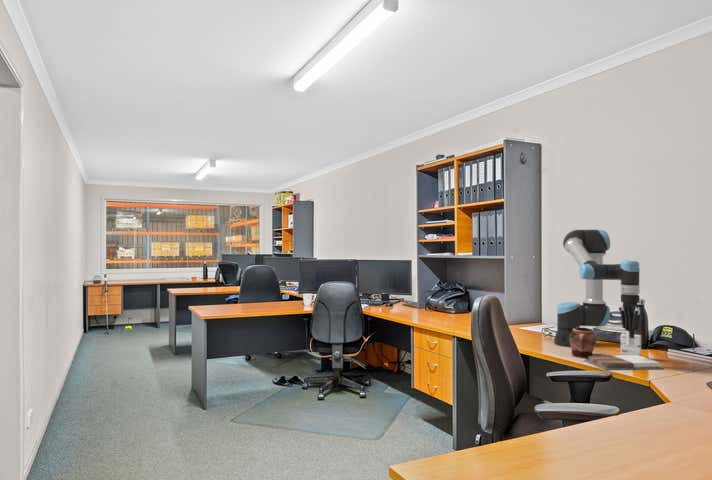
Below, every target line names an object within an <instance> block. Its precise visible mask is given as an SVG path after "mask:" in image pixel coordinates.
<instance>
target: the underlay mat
mask: <svg viewBox="0 0 712 480" xmlns="http://www.w3.org/2000/svg"><path fill="white" fill-rule="evenodd" d="M583 361H584V362H586V363H587V362H588V364H590V365H591V366H592V365H593V366H595V367H597V368H599V369H601V370H604V371H622V370H623V371H627V370H628V371H629V370H631V371H632V370H633V371H636V370H641V371H642V370H643V371H644V370H645V369H646V370H665V369H664V368H665V367H663V366H660V365H659V367H633V368H606V367H603V366H601V365H598V364H596V363H594V362H591V361H589V360H588V359H583Z"/></svg>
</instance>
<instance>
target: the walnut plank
mask: <svg viewBox="0 0 712 480" xmlns="http://www.w3.org/2000/svg"><path fill="white" fill-rule="evenodd" d="M587 360H589V361H591V362H594V363H596V364H598V365H601V366H603V367H606V368H633V363H631V362H628V361H626V360H623V359H620V358H617V357H615V356H614V355H593V356H588V358H587Z"/></svg>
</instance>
